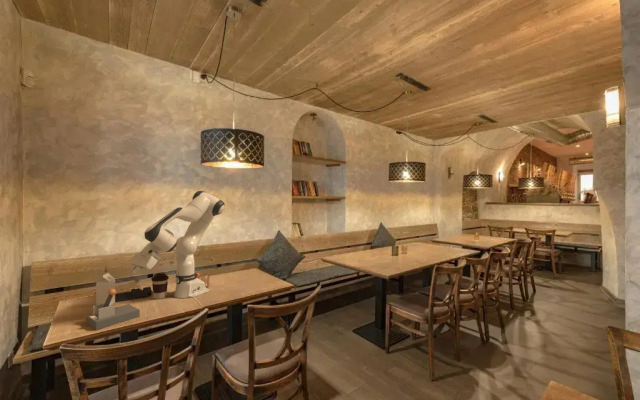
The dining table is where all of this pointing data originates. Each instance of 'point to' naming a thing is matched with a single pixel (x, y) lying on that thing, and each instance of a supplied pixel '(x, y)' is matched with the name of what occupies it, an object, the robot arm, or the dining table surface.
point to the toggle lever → (109, 297)
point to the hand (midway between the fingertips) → (131, 273)
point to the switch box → (111, 315)
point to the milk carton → (104, 289)
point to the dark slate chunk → (133, 294)
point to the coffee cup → (160, 285)
